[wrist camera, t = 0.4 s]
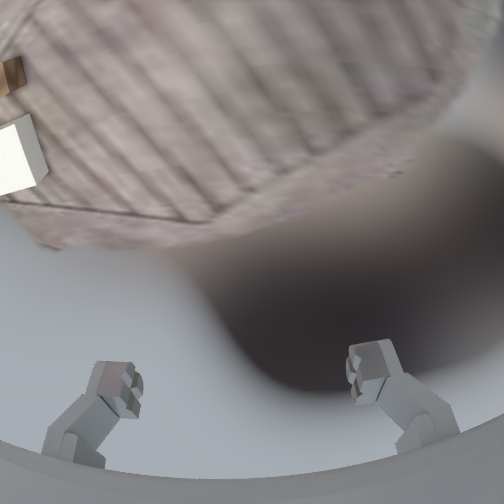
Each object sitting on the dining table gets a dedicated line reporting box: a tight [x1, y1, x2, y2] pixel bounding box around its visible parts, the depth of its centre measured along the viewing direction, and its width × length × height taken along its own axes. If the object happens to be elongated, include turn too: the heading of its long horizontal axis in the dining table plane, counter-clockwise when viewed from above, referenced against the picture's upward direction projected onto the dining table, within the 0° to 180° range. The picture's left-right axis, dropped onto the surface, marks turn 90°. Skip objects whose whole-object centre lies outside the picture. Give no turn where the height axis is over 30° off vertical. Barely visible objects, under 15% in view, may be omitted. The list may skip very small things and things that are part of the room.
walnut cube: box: [0, 56, 27, 97], centre depth 30 cm, size 5×5×5 cm
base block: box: [0, 113, 49, 196], centre depth 39 cm, size 11×11×5 cm
